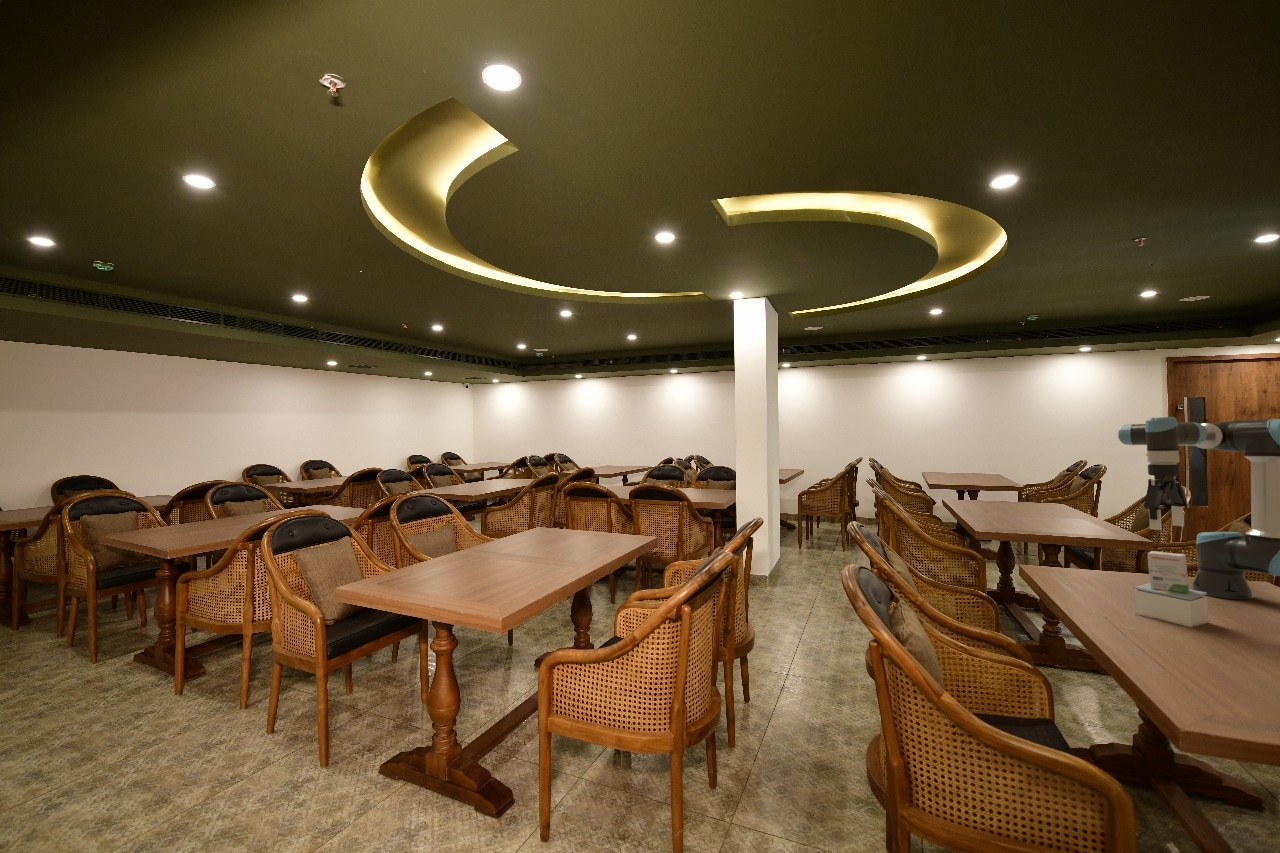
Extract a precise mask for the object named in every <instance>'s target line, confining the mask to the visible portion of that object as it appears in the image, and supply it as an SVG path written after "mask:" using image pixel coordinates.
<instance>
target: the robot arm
mask: <svg viewBox="0 0 1280 853" xmlns="http://www.w3.org/2000/svg"><path fill="white" fill-rule="evenodd" d="M1117 435H1118V436H1117V437H1118V441H1120V443H1122V444H1123V445H1127V446H1128V445H1129V446H1146V454H1145V456H1146V457H1147V463H1148V465H1147V473H1148V475H1149V476H1153V477H1154V478H1148V482H1147V490H1146V495H1145V500H1144V504H1143V508H1144V510H1148V517H1149V520H1148V521H1149V530H1156V531H1162V529H1163V528H1162V513H1161V509H1160V507H1161V506H1160V505H1161V504H1162V501H1163V498H1164V495H1165V494H1166V495H1167V497H1168V498H1169V500H1170V502H1171V503H1172V505H1171V506H1170V507H1171V522H1172V523H1171V524H1172V526H1175V527H1185V519H1184V518H1185V516H1184V507H1187V506H1188V502H1187V501H1188V500H1187V498H1186V495H1185V493H1184V489H1183V487H1182V486H1183V485H1182V483H1181V477H1179V476H1180V475H1181V469H1180V468H1181V467H1180V465H1179V464H1178V463H1180V462H1181V461H1180V452H1179V451H1180V450H1179V446H1180V447H1181V446H1186V447H1187V446H1188V447H1196V448H1198V449H1201V450H1202V449H1204V450H1216V451H1224V452H1232V453H1244V455H1243V456H1244V458H1245V459H1246V460H1248V461H1249V462H1250V497H1251V498H1250V505H1251V507H1250V508H1251V509H1250V511H1251V512H1250V513H1251V515H1250V516H1251V519H1250V521H1251V523H1250V524H1251V528H1250V529H1249V530H1247V531H1246V532H1245V533H1244V535H1243V534H1242V533H1241V532H1236V531H1204V532H1199V533H1198V534H1197V535H1196V542H1195V545H1196V557H1197V573H1196V574H1195V577H1194V579H1193V582H1192V585H1191V586H1192V589H1191V590H1196V591H1201V592H1207V595H1206V596H1208V597H1213V598H1220V599H1226V600H1227V599H1228V600H1238V601H1239V600H1241V601H1245V600H1246V601H1247V600H1248V601H1249V600H1253V599H1254V595H1253V590H1252V588H1251V587H1250V585H1249V583H1248V580H1247V579H1246V576H1245V571H1248V572H1253V573H1260V574H1266V575H1270V576H1274V577H1280V418H1269V419H1268V418H1267V419H1247V420H1246V419H1245V420H1244V419H1243V420H1228V421H1226V420H1225V421H1220V422H1212V423H1210V422H1209V423H1208V422H1207V423H1206V422H1204V423H1199V422H1194V421H1193V422H1192V421H1186V422H1178V421H1177V418H1176V417H1174V416H1165V417H1161V416H1160V417H1159V416H1158V417H1149V418H1147V419H1146V420H1145V423H1137V424H1135V423H1131V424H1124V425H1122V426H1121V427H1119V429H1118V434H1117Z"/></svg>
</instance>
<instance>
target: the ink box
mask: <svg viewBox="0 0 1280 853" xmlns="http://www.w3.org/2000/svg"><path fill="white" fill-rule="evenodd" d="M1147 563H1148V564H1147V566H1148V575H1149V577H1148V578H1149V583H1150V588H1152V589H1159V590H1166V591H1173V592H1181V593H1187V592H1188V591H1189V589H1190V587H1189V575H1188V566H1187V564H1188V563H1187V555H1186V554H1184V553H1175V552H1174V553H1173V552H1166V551H1165V552H1164V551H1154V550H1151V551H1150V552H1148V553H1147Z"/></svg>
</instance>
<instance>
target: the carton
mask: <svg viewBox="0 0 1280 853" xmlns="http://www.w3.org/2000/svg"><path fill="white" fill-rule="evenodd" d="M1133 591H1134V592H1133V593H1134V612H1135V614H1134V615H1137V616H1142V617H1146V618H1152V619H1155V620H1158V621H1164V622H1168V623H1172V624H1176V625H1180V626H1185V627H1190V628H1194V627H1199V626H1202V625H1205V624H1208V623H1209V622H1210V621H1209V604H1208V603H1209V602H1208V597H1207V596H1201V597H1198V598H1195V599H1192V600H1186V599H1181V598H1176V597H1171V596H1166V595H1161V594H1156V593H1152V592H1147V591H1142V590H1137V589H1133Z"/></svg>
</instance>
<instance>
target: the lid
mask: <svg viewBox="0 0 1280 853" xmlns="http://www.w3.org/2000/svg"><path fill="white" fill-rule="evenodd" d="M1136 589H1137V590H1142V591H1147V592H1152V593H1156V594H1161V595H1166V596H1171V597H1176V598H1181V599H1186V600H1192V599H1195V598H1198V597H1201V596H1203V597H1205V596H1208V595H1207V592H1201V591H1196V590H1192V589H1190V588H1189V591H1188V592H1187V593H1181V592H1173V591H1166V590H1159V589H1152V588H1150V582H1146V583H1144V584H1140V585H1137V586H1134V587H1133V590H1136Z"/></svg>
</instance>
